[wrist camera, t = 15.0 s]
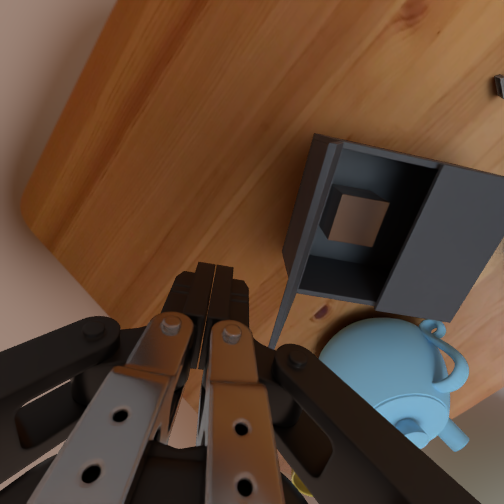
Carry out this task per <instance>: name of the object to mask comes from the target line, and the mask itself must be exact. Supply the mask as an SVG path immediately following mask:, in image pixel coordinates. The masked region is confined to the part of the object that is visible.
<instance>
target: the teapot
mask: <svg viewBox="0 0 504 504" xmlns="http://www.w3.org/2000/svg"><path fill="white" fill-rule="evenodd" d="M434 328H437V330H436V331H435V332H434V333H431V331H432V330H433V329H434ZM445 333H446V329H445V326H444V324H443V323H442V322H441V321H436V320H430V319H425V320H423V321H422V322H421V323H420V324H419V327H418V326H416V325H414V324H412V323H410V322H408V321H404V320H401V319H394V318H369V319H364V320H360V321H357V322H355V323H352V324H350V325H348V326H346V327H345V328H343V329H342V330H340V331H339V332H338V333H337V334H335V335H334V336H333V337H332V338H331V339H330V340H329V342H328V343H327V344H326V346H325V347H324V348H323V350H322V352H321V354H320V356H319V360H321V361H322V362H323V363H324V364H325V365H326V366H327V367H328V368H329V369H331V370H332V371H333V372H334V373H335V374H336V375H337V376H338V377H340V378H341V379H342V380H343V381H344V382H345V383H346V384H347V385H349V386H350V387H351V388H352V389H353V390H354V391H355V392H356V393H358V394H359V395H360V396H361V397H362V398H363V399H364V400H365V401H366V402H368V403H369V404H370V405H371V406H372V407H373V408H374V409H375V410H377V411H378V412H379V413H380V414H381V415H382V416H383V417H384V418H386V419H387V420H388V421H389V422H390V423H391V424H392V425H393V426H395V427H396V428H397V429H398V430H399V431H400V432H401V433H402V434H404V435H405V436H406V437H407V438H408V439H409V440H410V441H411V442H412V443H414V444H415V445H416V446H417V447H418V448H419V449H421V448H423V447H425V446H426V445H427V444H428V442H429V441H430V440H432V439H433V438H435V437H436V436H437V435H438V436H439V437H440V438H441V439H442V440H443V441H444V442H445V443H446V444H447V445H448V446H449V447H450V448H451V449H452V450H453V451H454V452H456V451H458V450H460V449H462V448H463V447H464V446H465V445H466V444H467V443H468V442H469V438H468V437H467V436H466V435H465V433H464V432H463V431H462V430H461V429H460V428H459V427H458V426H457V425H456V424H455V423H454V422H453V421H452V420H451V419H450V418H449V410H450V392H453V391H455V390H457V389H459V388H460V387H461V386H462V385H463V384H464V383H465V382H466V380H467V378H468V375H469V367H468V364H467V361H466V360H465V358H464V357H463V356H462V355H461V354H460V353H459V352H458V351H457V350H456V349H455V348H453V347H452V346H451V345H449V344H448V343H446V342H444V341H443V340H441V339H439V338H442V337H443V336H444V335H445ZM438 348H440V349H441V350H443V351H444V352H445V353H447V354H448V355H449V356H450V357H451V358H452V359H453V361H454V363H455V367H454V370H453V371H452V373H451V374H450V375H449V376H448V372H447V368H446V365H445V362H444V360H443V357H442V355H441V353H440V351H439V349H438Z"/></svg>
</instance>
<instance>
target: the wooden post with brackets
mask: <svg viewBox="0 0 504 504" xmlns="http://www.w3.org/2000/svg"><path fill="white" fill-rule="evenodd" d="M494 77H495V82H496V88H497V93H498V96H499V97H501V98H503V99H504V76H503V75H500V74H499V75H498V76H494Z"/></svg>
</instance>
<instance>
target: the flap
mask: <svg viewBox="0 0 504 504" xmlns="http://www.w3.org/2000/svg"><path fill="white" fill-rule="evenodd" d="M343 144H344V142H341V141H336V142H329V144H328V147H327V151H326V154H325V158H324V161H323V164H322V168H321V171H320V174H319V178H318V181H317V184H316V188H315V191H314V195H313V198H312V201H311V205H310V208H309V211H308V215H307V218H306V221H305V225H304V228H303V231H302V235H301V238H300V242H299V245H298V248H297V252H296V255H295V258H294V262H293V265H292V268H291V272H290V275H289V279H288V282H287V285H286V289H285V292H284V295H283V299H282V302H281V305H280V309H279V312H278V316H277V319H276V322H275V326H274V329H273V332H272V336H271V339H270V342H269V346H268V348H271V349H273V350H274V348H275V346H276V343H277V341H278V338H279V336H280V333H281V331H282V328H283V326H284V323H285V321H286V318H287V316H288V313H289V311H290V308H291V306H292V303H293V301H294V298H295V295H296V292H297V289H298V286H299V283H300V279H301V276H302V273H303V270H304V267H305V264H306V261H307V258H308V254H309V251H310V248H311V245H312V242H313V239H314V236H315V232H316V229H317V226H318V223H319V220H320V217H321V214H322V210H323V207H324V204H325V201H326V198H327V195H328V192H329V188H330V185H331V182H332V179H333V176H334V173H335V170H336V166H337V163H338V160H339V157H340V154H341V151H342V148H343Z"/></svg>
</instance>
